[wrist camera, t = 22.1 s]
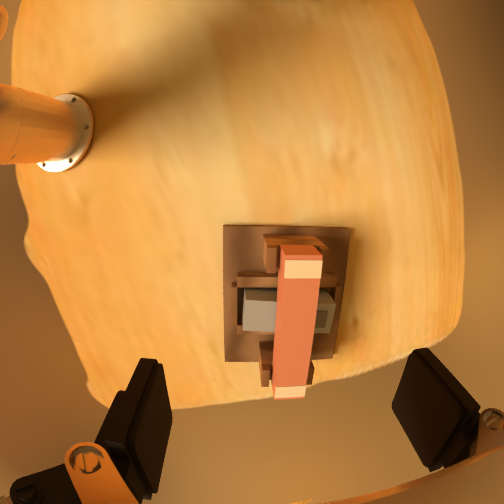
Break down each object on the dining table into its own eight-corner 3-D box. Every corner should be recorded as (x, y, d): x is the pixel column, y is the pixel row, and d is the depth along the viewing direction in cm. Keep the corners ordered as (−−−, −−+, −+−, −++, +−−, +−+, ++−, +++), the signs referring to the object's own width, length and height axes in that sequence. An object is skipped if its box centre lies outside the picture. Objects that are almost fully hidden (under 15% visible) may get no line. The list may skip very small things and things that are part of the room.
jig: (225, 357, 48) (223, 391, 39) (223, 224, 42) (219, 238, 33) (330, 354, 48) (345, 386, 40) (347, 227, 43) (371, 241, 34)
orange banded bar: (271, 379, 41) (274, 400, 36) (279, 244, 35) (285, 255, 31) (298, 378, 41) (303, 399, 36) (312, 245, 36) (323, 255, 31)
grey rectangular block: (242, 312, 44) (242, 331, 39) (244, 284, 43) (245, 300, 37) (320, 315, 45) (330, 334, 39) (325, 288, 44) (336, 305, 38)
